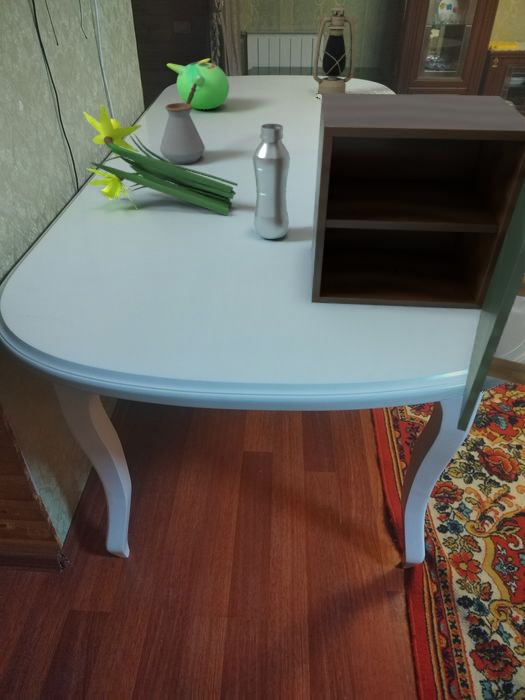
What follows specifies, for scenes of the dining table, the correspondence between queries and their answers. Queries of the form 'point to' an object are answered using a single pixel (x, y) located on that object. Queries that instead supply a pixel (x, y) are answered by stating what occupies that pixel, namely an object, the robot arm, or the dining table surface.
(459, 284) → the cupboard
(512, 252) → the cupboard door
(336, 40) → the lantern
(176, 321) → the dining table surface
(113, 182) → the daffodil flowers
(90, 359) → the dining table surface
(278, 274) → the dining table surface
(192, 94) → the coffee pot
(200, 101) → the toy bird
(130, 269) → the dining table surface
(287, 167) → the silver bottle
